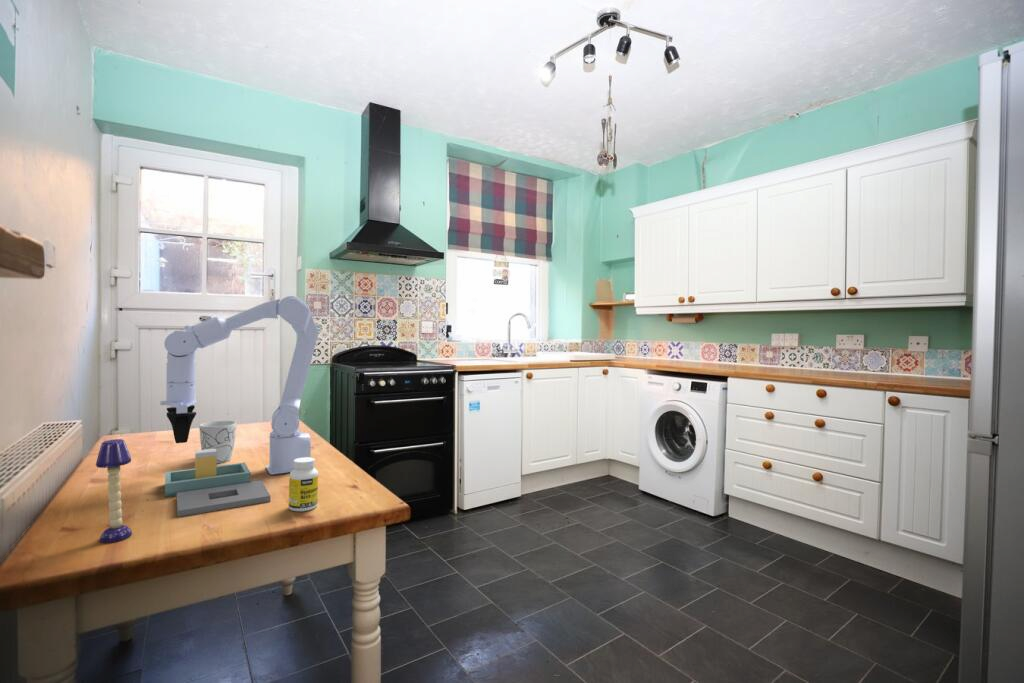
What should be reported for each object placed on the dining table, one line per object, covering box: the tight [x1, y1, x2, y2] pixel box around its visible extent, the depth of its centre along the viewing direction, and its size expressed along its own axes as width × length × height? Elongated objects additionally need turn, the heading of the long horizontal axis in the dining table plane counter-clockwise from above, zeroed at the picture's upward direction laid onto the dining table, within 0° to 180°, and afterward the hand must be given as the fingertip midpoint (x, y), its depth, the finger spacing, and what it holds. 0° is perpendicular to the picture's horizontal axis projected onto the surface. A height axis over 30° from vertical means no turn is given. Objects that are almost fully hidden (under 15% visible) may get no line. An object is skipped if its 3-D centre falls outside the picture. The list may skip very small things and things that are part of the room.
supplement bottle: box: [288, 457, 319, 512], centre depth 99 cm, size 5×5×10 cm
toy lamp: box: [95, 438, 133, 544], centre depth 83 cm, size 5×5×17 cm
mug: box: [198, 420, 237, 464], centre depth 132 cm, size 11×8×10 cm
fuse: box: [194, 449, 217, 479], centre depth 111 cm, size 4×3×7 cm
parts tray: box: [164, 462, 251, 498], centre depth 111 cm, size 16×10×3 cm, turn 125°
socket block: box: [176, 480, 271, 518], centre depth 102 cm, size 16×12×1 cm
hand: (181, 439), depth 115 cm, fingers open, 7 cm apart
